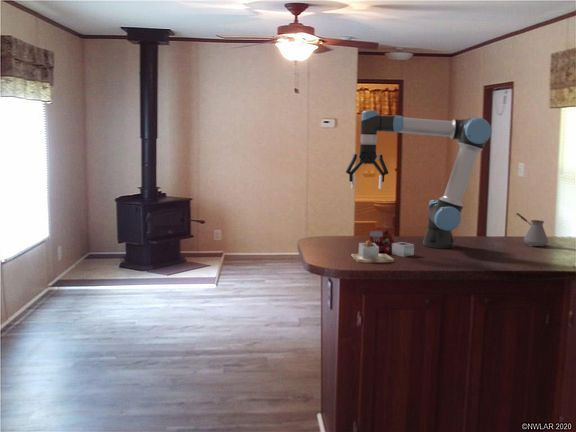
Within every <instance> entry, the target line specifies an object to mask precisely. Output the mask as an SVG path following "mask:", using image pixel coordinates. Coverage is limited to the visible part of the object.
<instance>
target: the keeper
mask: <svg viewBox="0 0 576 432" xmlns="http://www.w3.org/2000/svg"><path fill="white" fill-rule="evenodd" d="M365 243H366V247H371V241H369V240H366V241H365ZM351 256H352V257H353V258H352V257H351ZM350 257H351V258H352V259H353V260H355V261H356V262H357V263H394V262H395V259H394V258H393V257H391V256H390V255H388V253H379V255H378V258H368V259H363V258H362V257H361V256H360V255H359V253H351V255H350Z"/></svg>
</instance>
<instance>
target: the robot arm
mask: <svg viewBox="0 0 576 432" xmlns="http://www.w3.org/2000/svg"><path fill="white" fill-rule="evenodd" d="M378 132H385V133H401V134H413V135H425V136H435V137H448V138H450V139H451V140H458V142H457V143H458V146H459V150H458V153H457V155H456V158H455V161H454V164H453V166H452V170H451V173H450V176H449V179H448V181H447V184H446V187H445V190H444V194H443V196H441V197H439V198H438V199H431V200H429V204H428V218H427V230H426V233H425V235H424V238H423V241H422V242H423V243H422V246H425V247H428V248H433V249H453V248H454V247H455V240H454V236H453V232H452V230H455V229H456V228H458V227H459V225H460V223H461V221H462V216H461V214H462V211H463V208H464V205H463V203H462V200H463V198H464V195H465V193H466V190H467V189H466V188H467V186H468V182H469V180H470V177H471V175H472V172H473V168H474V166H475V163H476V160H477V157H478V154H479V153H480V152H482V151H483V150H484V147H485V146H486V145H485V144H486V142H488V140H489V139H490V137H491V135H492V125H490V123H489V122H488V120H486V119H484V118H482V117H470V118H463V119H457V118H456V119H452V120H443V119H442V120H440V119H431V118H430V119H429V118H418V117H417V118H416V117H404V116H402V115H394V114H393V115H390V114H387V115H384V114H383V115H382V114H379V111H378V110H363V111H362V112H361V120H360V140H359V141H360V145H359V148H360V149H359V154H357V153H353V154H352V159H351V161H350V163H349V164H348V166H347V168H346V170H345V173H346V174H348V176H349V182H350V183H351V185H350V189H351V190H354V189H355V175H354V174H355V173H356V171H357V170H358V169H359V168H360V167H361V166H362V165H363V164H364V165H365V164H366V165H367V164H368V165H369V164H370V165H373V166H374V167H375V168H376V170H377V171H378V172H379V174H378V175H379V176H378V189H379V190H382V188H383V183H384V182H385V176H386V175H388V174H389V170H388V168H387V165H386V163H385V162H384V158H383V154H381V153H379V154H377V143H378V142H377V137H378ZM358 159H359V161H358V162H357V164H355V162H356V161H357V160H358ZM376 159H378V161H379V163H380V165H379V163H377V161H376ZM354 165H355V166H354ZM353 166H354V167H353ZM380 166H381V167H380Z"/></svg>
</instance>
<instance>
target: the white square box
mask: <svg viewBox="0 0 576 432" xmlns="http://www.w3.org/2000/svg"><path fill="white" fill-rule="evenodd" d="M358 254H359V255H360V256H361V257H362V258H363V259H368V258H378V255H379V254H380V252H379V247H378V246H377V245H376V244H375V243H371V247H366V242H359V243H358Z"/></svg>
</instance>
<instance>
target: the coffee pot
mask: <svg viewBox="0 0 576 432" xmlns="http://www.w3.org/2000/svg"><path fill="white" fill-rule="evenodd" d="M515 215H516V217H517V216H518V217H520V219H521V220H523V221H524V222H525V223H527V224H528V225H529V226H530V227H529V229H528V231H527V232H526V235H525V236H524V237H523V241H524V243H525V244H526V245H527V244H528V245H532V246H544V247H545V246H547V244H548V243H549V240H548V238H547V237H548V236H547V233H546V232H545V229H544V226H543V224H544V223H545V221H544V220H538V219H537V220H536V219H532V220H530V221H528V220H527V219H526V218H525V217H524V216H523V215H521V214H520V213H519V212H516V213H515ZM528 245H527V246H528ZM532 246H531V247H532Z"/></svg>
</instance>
